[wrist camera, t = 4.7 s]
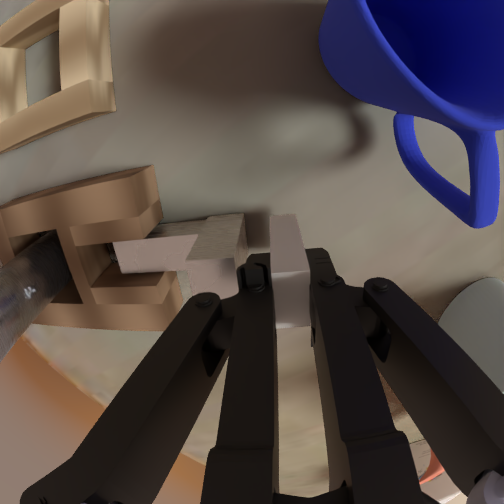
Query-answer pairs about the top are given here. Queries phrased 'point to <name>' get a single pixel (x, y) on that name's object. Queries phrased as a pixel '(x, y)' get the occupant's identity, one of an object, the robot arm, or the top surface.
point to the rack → (71, 69)
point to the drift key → (192, 252)
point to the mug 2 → (479, 325)
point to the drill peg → (30, 286)
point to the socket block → (97, 250)
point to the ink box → (438, 486)
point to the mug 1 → (428, 82)
